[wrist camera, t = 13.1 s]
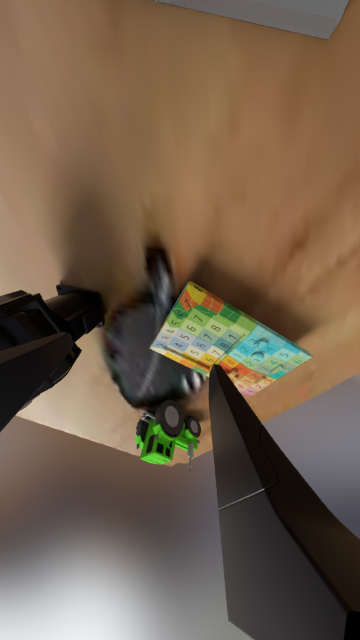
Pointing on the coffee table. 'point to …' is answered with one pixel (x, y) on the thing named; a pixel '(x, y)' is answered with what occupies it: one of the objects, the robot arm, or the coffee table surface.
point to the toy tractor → (166, 433)
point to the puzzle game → (225, 341)
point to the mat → (276, 13)
